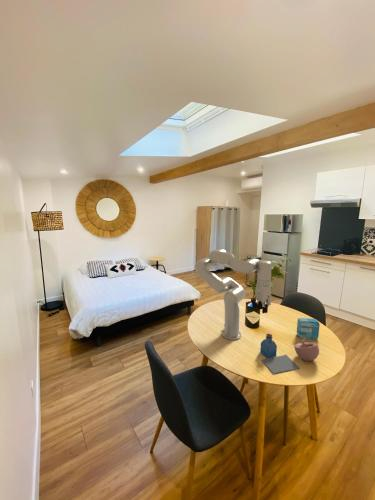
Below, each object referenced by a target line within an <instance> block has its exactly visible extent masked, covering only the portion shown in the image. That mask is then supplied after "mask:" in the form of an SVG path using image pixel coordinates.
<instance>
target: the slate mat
mask: <svg viewBox="0 0 375 500" xmlns="http://www.w3.org/2000/svg"><path fill="white" fill-rule="evenodd" d="M260 361H261V362H262V363H263V364H264V366H265V367H266V368H267V369H268V370H269V371H270V372H271V373H272V375H276V374H280V373H285V372H291V371H296V370H300V369H301V367H300V366H299V365H298V364H297V363H296V362H294V360H292V359H291V358H290V357H289V356H288V355H287V354H283V355H278V356H277V355H276V356H274V357H271V358H267V357H266V358H263V359H261V360H260Z"/></svg>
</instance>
